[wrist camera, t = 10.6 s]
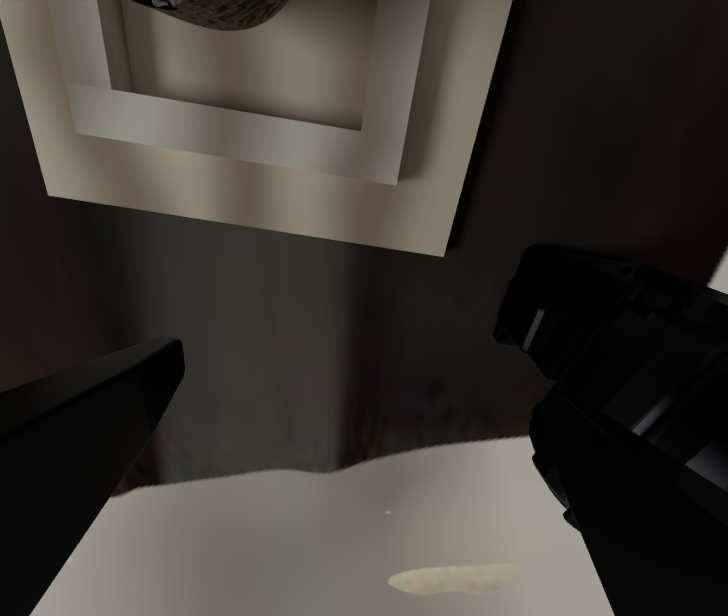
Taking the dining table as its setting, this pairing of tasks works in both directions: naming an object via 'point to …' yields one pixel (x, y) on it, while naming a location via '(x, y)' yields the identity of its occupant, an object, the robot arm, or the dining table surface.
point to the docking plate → (263, 111)
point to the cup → (218, 12)
